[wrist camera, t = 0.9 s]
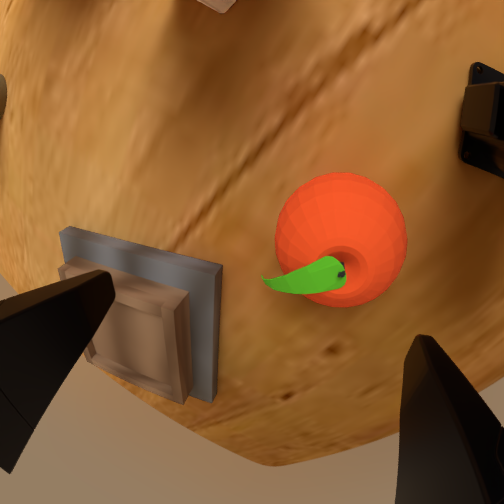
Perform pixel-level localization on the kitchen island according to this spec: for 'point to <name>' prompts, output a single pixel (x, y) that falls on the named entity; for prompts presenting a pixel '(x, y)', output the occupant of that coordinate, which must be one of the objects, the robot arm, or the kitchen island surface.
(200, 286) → the fruit stand
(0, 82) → the pepper mill
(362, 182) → the clementine
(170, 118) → the kitchen island surface
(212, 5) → the ink cartridge box
